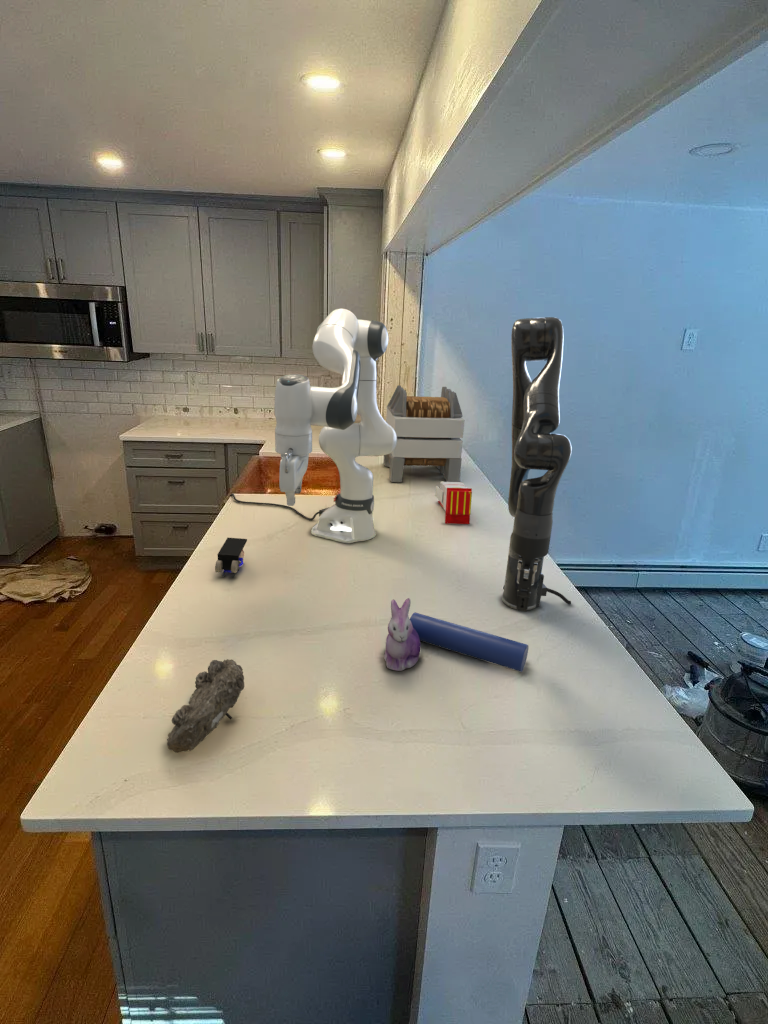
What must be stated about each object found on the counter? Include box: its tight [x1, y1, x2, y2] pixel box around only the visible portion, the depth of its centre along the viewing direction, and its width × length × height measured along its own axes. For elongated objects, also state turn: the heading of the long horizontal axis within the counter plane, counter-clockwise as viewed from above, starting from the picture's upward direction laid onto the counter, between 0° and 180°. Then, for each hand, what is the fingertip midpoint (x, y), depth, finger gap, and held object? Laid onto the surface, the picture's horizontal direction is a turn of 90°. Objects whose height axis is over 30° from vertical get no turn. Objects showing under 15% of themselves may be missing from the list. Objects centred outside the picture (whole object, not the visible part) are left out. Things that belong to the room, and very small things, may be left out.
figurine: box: [383, 597, 422, 672], centre depth 125 cm, size 9×10×15 cm
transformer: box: [383, 384, 465, 483], centre depth 268 cm, size 34×33×41 cm
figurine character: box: [214, 537, 248, 578], centre depth 166 cm, size 7×8×15 cm
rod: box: [409, 611, 529, 673], centre depth 131 cm, size 27×6×6 cm
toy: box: [434, 481, 473, 525], centre depth 222 cm, size 12×13×30 cm
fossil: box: [166, 658, 245, 754], centre depth 106 cm, size 22×10×15 cm
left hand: (294, 498), depth 141 cm, fingers open, 8 cm apart
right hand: (522, 600), depth 121 cm, fingers open, 8 cm apart
